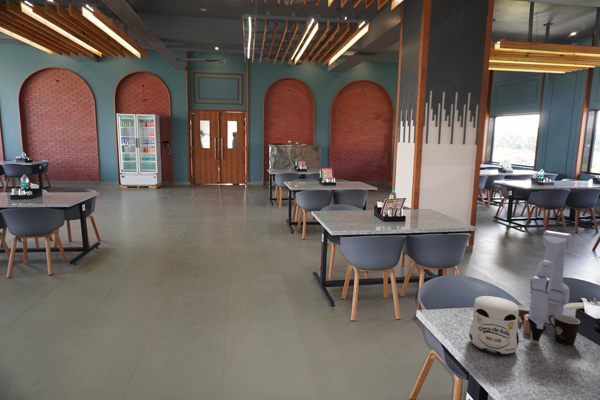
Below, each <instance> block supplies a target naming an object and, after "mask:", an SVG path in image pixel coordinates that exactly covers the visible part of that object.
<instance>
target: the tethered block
mask: <svg viewBox="0 0 600 400" xmlns="http://www.w3.org/2000/svg"><path fill="white" fill-rule="evenodd" d="M522 330H523V332H524V334H528V335H530V340H529V341H530V343H531V344H533V345H539V342H540V340H539V341H534V340H533V339H532V331H531V332H530V324H529V321H528V319H527V317H526V316H525V315H524V321H523V322H522Z"/></svg>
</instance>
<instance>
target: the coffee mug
mask: <svg viewBox="0 0 600 400" xmlns="http://www.w3.org/2000/svg"><path fill="white" fill-rule="evenodd" d="M552 316H553V317H554V323H555V325H554V324H552V322H551V320H550V318H551V317H552ZM549 322H550V323H551V324H550V326H552V328H553V329H554V341H555V342H556V343H557V344H559V345H561V346H565V347H574V345H575V342H576V339H577V335H578V331H579V327H580V324H581V321H580V319H578V318H576V317H574V316H571V315H568V314H563V315H561V314H558V315H555V316H554V315H550V316H549Z"/></svg>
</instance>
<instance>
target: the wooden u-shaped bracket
mask: <svg viewBox="0 0 600 400" xmlns="http://www.w3.org/2000/svg"><path fill="white" fill-rule="evenodd" d="M526 314H529V310H527V309H520V308H519V315H518V325H517V326H518V328H522V329H523V322H524V315H526Z"/></svg>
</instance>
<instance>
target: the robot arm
mask: <svg viewBox="0 0 600 400" xmlns="http://www.w3.org/2000/svg"><path fill="white" fill-rule="evenodd" d="M542 244H543V246H544V248H545V251H544V257H543V260H542V261H540V262H538V264H537V265H538V266H537V268H536V271H535V273H534V276H531V278H530V283H529V293H530V301H529V302H530V303H529V310H528V311H529V314H526V315H525V316H526V317H527V319H528V321H529V324H530V332H531V331H532V339H533V340H534V341H539V342H540V339H541V337H542V335H543V333H544V331H545V330H546V329H547V326H546V325H544V324H549V325H551V323H550V322H549V316H550V315H554V316H555V315H558V314H561V315H564V310H565V305H566V306H567V305H568V304H569V301H570V295H571V294H570V287H569V286H568V285H566V284H565V283H564V282H563V281H564V280H563V279H564V270H565V269H564V267H565V258H566V251H567V250H571V249H572V247H573V235H572V234H571V233H568V232H567V233H566V232H559V231H552V230H548V229H546V230H545V231H544V232H543V234H542ZM550 320H551V322H552V324H553V325H554V326H555V323H554V317H553V316H552V317H551V318H550Z"/></svg>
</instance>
